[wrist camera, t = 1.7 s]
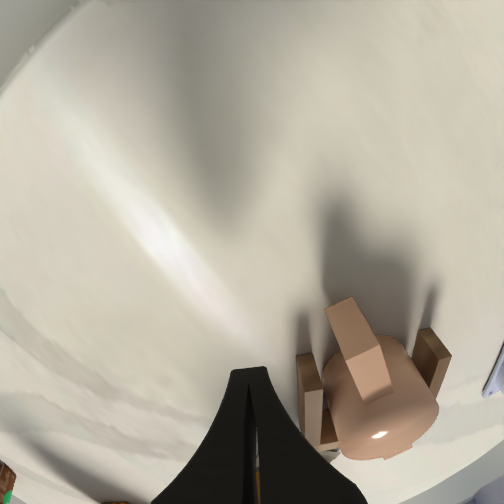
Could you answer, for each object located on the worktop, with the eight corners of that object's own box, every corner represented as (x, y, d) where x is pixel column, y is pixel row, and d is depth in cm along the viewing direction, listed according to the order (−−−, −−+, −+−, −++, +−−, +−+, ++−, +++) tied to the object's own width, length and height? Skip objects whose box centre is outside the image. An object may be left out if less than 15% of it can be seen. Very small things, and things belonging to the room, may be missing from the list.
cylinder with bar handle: (410, 380, 20) (439, 434, 15) (338, 414, 21) (356, 472, 16) (382, 270, 16) (431, 330, 11) (283, 318, 17) (300, 393, 12)
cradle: (430, 327, 18) (451, 355, 15) (411, 396, 21) (425, 423, 18) (296, 355, 18) (304, 392, 15) (299, 422, 21) (305, 454, 18)
